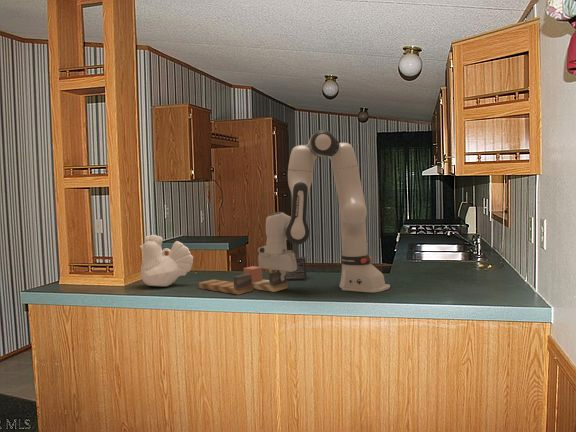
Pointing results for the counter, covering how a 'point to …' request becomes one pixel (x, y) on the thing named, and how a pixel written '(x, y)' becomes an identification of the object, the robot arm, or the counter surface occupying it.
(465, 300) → the counter surface
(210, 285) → the oak strip
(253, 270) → the brick block
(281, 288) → the birch strip
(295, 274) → the small box
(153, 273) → the decorative rooster
